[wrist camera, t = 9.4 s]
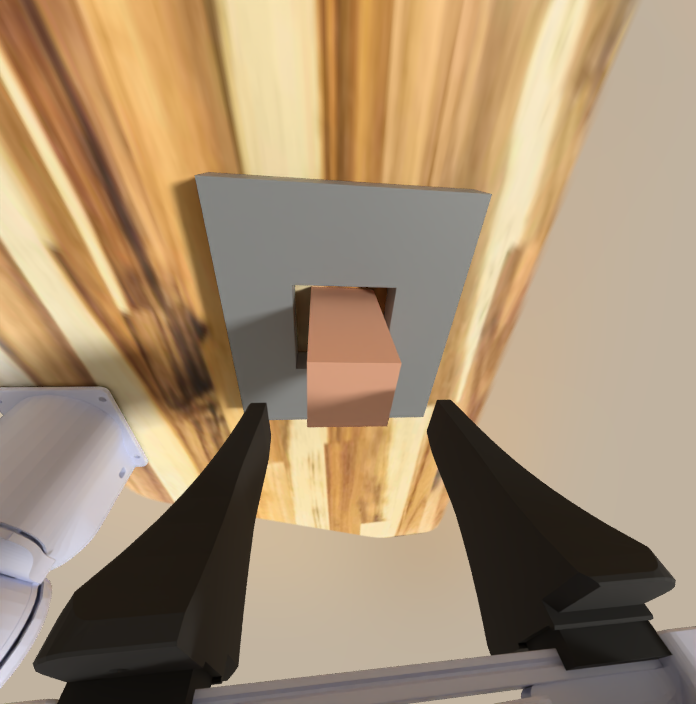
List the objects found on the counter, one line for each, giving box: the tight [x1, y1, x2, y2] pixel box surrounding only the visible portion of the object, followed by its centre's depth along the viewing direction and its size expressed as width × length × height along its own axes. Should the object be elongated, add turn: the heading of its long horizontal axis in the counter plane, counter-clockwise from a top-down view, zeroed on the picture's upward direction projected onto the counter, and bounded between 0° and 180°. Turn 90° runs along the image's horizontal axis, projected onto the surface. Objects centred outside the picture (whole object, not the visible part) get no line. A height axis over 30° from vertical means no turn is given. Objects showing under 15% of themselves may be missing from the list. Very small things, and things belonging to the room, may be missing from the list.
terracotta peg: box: [307, 286, 402, 427], centre depth 16 cm, size 4×4×8 cm
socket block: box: [195, 172, 492, 420], centre depth 19 cm, size 16×14×2 cm
